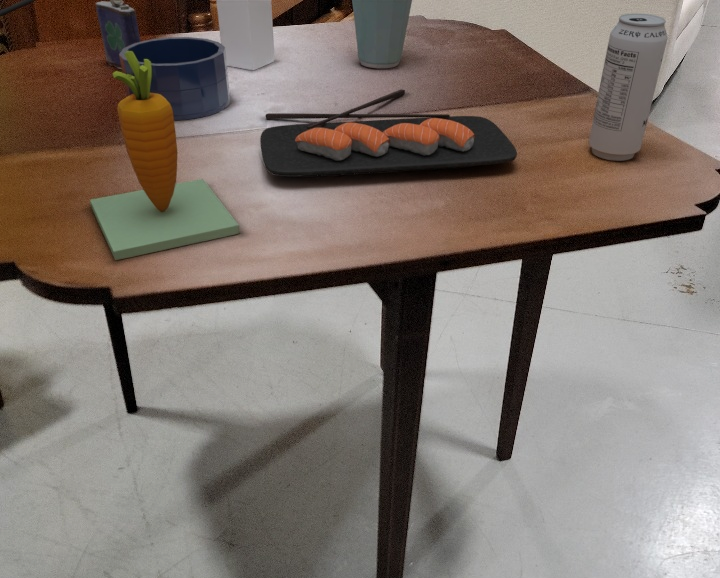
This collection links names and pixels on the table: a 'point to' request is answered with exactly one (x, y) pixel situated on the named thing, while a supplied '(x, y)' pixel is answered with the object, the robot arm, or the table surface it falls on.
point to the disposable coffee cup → (380, 31)
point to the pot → (184, 74)
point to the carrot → (148, 134)
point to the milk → (246, 32)
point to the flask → (117, 28)
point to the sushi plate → (381, 143)
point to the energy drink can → (627, 85)
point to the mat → (162, 220)
